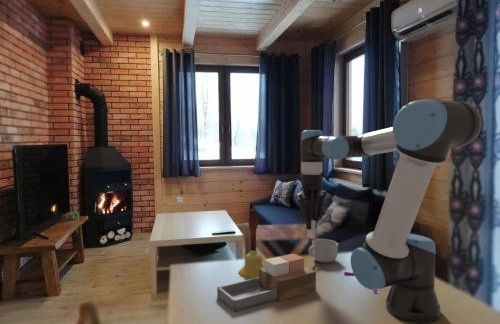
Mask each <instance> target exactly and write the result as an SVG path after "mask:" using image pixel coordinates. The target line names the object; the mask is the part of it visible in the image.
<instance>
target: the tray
mask: <svg viewBox="0 0 500 324" xmlns="http://www.w3.org/2000/svg"><path fill="white" fill-rule="evenodd" d="M216 291H217V299H219V300H220V301H221V302H223V303H224V305H226V306H227V307H228V308H230V309H231V311H233V312H234V313H235V312H239V311H243V310H245V309H250V308H252V307H253V308H254V307H257V306H259V305H263V304H267V303H271V302H273V301H277V300H278V299H277V289H276V288H275V289H271V290H268V291H266V290H264V289H263V288H261V287H260V286H259V278H258V277H257V278H253V279H246V280H240V281H237V282H232V283H229V284H224V285H221V286H216Z"/></svg>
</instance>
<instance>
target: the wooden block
mask: <svg viewBox="0 0 500 324" xmlns="http://www.w3.org/2000/svg"><path fill="white" fill-rule="evenodd" d="M259 286H260V287H261V288H263V289H264V290H266V291H268V290H271V289H275V288H276V289H277V300H279V301H283V300H286V299H289V298H294V297H296V296H300V295H304V294H306V293H310V292H314V291H317V272H316V270H313V269H311V268H310V267H307V266H305V265H304V269H303V270H299V271H295V272H291V273H290V272H289V273H287V274H283V275H279V276H275V277H274V276H272V275H271V274H269V273H267V272H265V266H264V268H260V269H259Z"/></svg>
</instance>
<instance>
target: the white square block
mask: <svg viewBox="0 0 500 324" xmlns="http://www.w3.org/2000/svg"><path fill="white" fill-rule="evenodd" d="M264 267H265V272H267V273H269V274H271V275H272V276H274V277H275V276H279V275H283V274H287V273H289V261H287V260H285V259H282V258H280V256H276V257H271V258H267V259H264Z"/></svg>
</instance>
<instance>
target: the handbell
mask: <svg viewBox="0 0 500 324" xmlns="http://www.w3.org/2000/svg"><path fill="white" fill-rule="evenodd" d="M248 228H249V232H250V251H249V252H248V253H247V254H246V255H245V257H244V265H243V266H242V267H241V268H240V269H239V270H238V273H237V274H239V275H240V276H241V278H242V277H243V278H244V279H246V280H248V279H253V278H257V277H258V278H259V269H260V268H264V267H265V265H264V264H263V256H262V254H261V253H259V252H258V251H257V229H258V214H257V210H256V209H254V208H252V209H251V208H250V210H249V216H248ZM239 275H238V276H239ZM240 276H239V277H240Z"/></svg>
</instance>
